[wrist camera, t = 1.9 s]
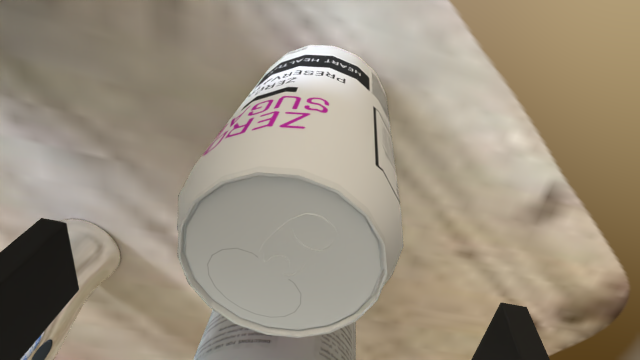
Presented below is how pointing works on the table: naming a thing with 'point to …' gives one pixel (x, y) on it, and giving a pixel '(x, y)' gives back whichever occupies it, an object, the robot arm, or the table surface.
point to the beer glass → (91, 269)
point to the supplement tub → (272, 343)
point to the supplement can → (296, 200)
